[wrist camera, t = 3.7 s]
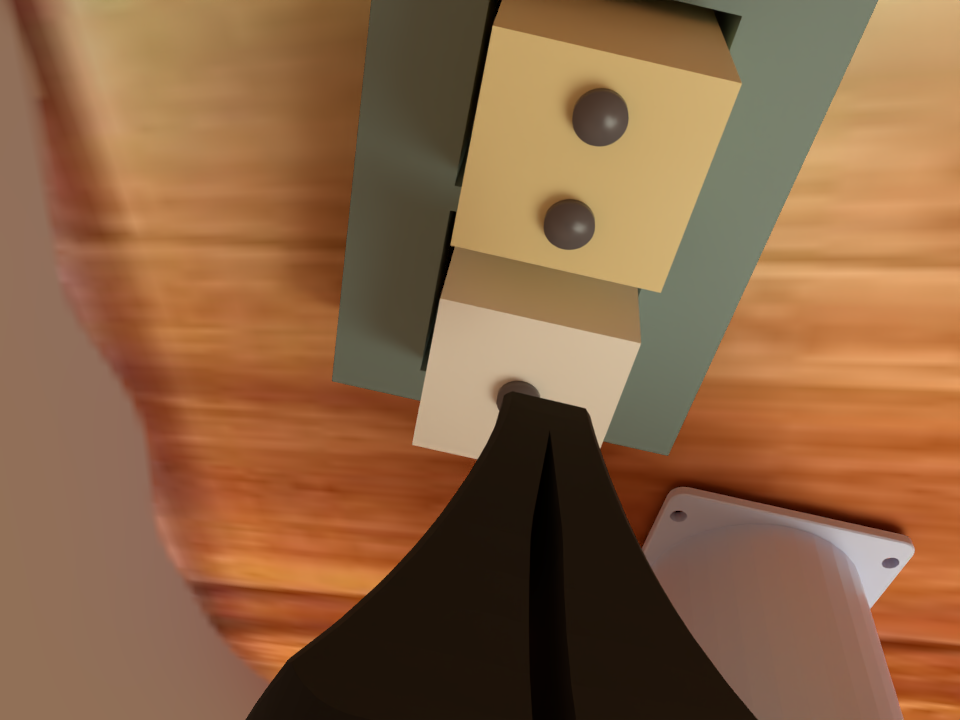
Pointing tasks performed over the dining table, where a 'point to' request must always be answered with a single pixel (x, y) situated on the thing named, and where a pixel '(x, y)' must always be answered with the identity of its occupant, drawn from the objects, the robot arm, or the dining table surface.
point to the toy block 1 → (595, 135)
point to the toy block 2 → (522, 347)
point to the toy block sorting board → (441, 166)
